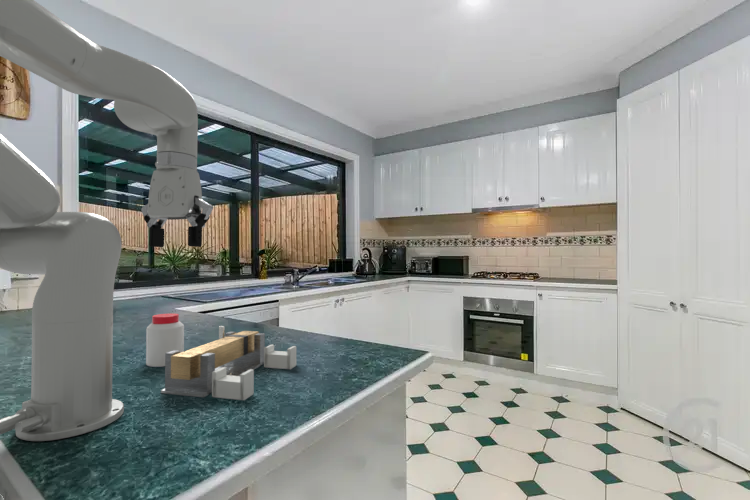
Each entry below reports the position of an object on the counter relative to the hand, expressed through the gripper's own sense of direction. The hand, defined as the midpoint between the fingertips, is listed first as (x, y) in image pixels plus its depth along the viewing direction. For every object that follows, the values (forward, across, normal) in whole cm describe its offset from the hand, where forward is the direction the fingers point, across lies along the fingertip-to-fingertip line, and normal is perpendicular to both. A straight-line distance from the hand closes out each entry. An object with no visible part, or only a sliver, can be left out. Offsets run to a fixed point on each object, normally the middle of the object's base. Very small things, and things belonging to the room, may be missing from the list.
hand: (175, 246), depth 78 cm
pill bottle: (+27, -10, +8) cm, 30 cm away
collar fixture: (+27, +9, +3) cm, 29 cm away
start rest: (+27, +18, +3) cm, 33 cm away
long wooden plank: (+24, +9, +3) cm, 26 cm away
